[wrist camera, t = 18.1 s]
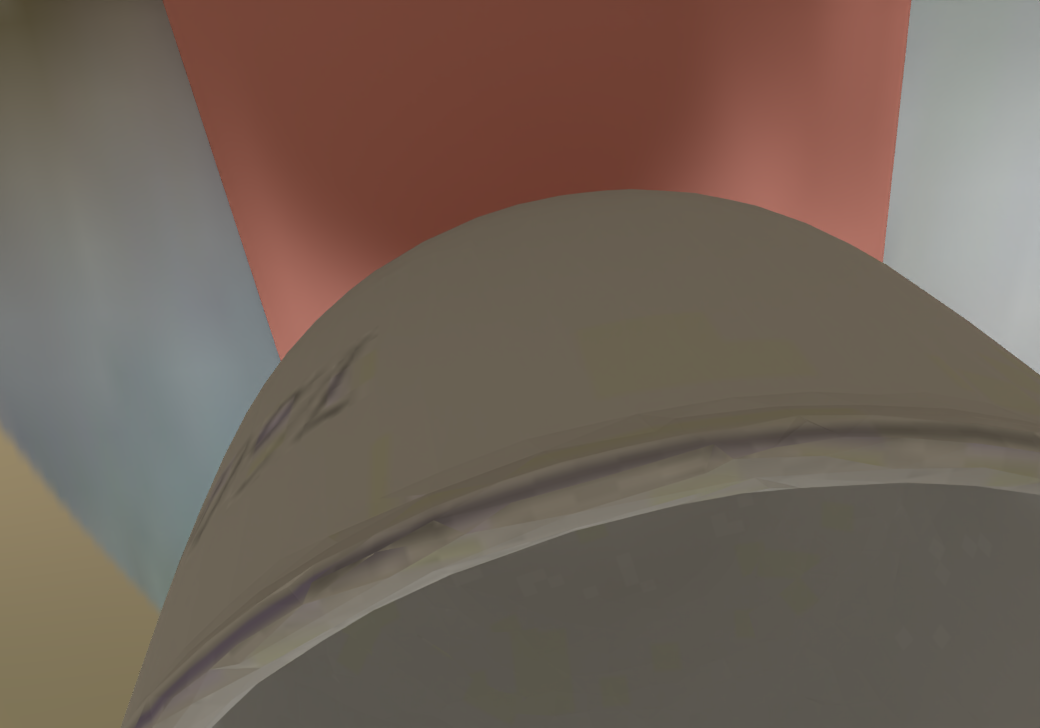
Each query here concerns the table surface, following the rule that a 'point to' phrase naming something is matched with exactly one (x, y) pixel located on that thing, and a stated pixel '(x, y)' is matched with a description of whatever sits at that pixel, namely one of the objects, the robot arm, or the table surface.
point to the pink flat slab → (528, 118)
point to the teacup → (619, 494)
